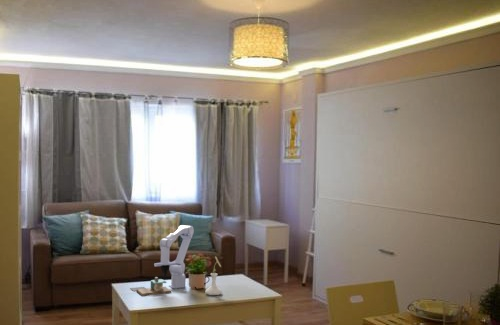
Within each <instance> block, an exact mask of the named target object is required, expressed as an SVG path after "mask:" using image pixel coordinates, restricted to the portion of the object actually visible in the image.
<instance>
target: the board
mask: <svg viewBox="0 0 500 325" xmlns="http://www.w3.org/2000/svg"><path fill="white" fill-rule="evenodd" d="M145 288H146V287H145ZM136 292H137V293H138V295H140V296H141V297H145V296H152V295H153V296H155V295H162V294H165V295H166V294H171V293H172V290H171V289H169V288H168V287H167V286H163V290H161V291H155V290H154V289H151V287H149V288H146V289H137V291H136Z"/></svg>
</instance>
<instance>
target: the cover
mask: <svg viewBox="0 0 500 325" xmlns="http://www.w3.org/2000/svg"><path fill="white" fill-rule="evenodd" d="M159 283H163V284H166V283H167V281H166V280H164V279H162V278H159V277H158V276H155V277H154V279H151V280H150V288H151V289H154V284H159Z"/></svg>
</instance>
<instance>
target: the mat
mask: <svg viewBox="0 0 500 325" xmlns="http://www.w3.org/2000/svg"><path fill="white" fill-rule="evenodd" d="M129 289H130V290H131V291H132V292H137V289H146V287H145V286H138V287H137V286H136V287H129Z"/></svg>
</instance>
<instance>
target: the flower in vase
mask: <svg viewBox="0 0 500 325" xmlns="http://www.w3.org/2000/svg"><path fill="white" fill-rule="evenodd" d="M214 258H215V261H216V262H215V263H214V266H213V270H212V272H211V273H210V276H211V285H210V286H209V287H208V288H206V289H205V292H204V293H205V294H206V295H209V296H218V295H221V294H222V293H223V290H222V289H221V288H220V287H218V286H217V284H216V280H217V279H216V278H217V276H218V273H216V271H217V270H216V268H215V266H216V265H217V264H218V266H219V267H220V268H222V265H221V262H220V261H219V259H218V257H217V256H214Z"/></svg>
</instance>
